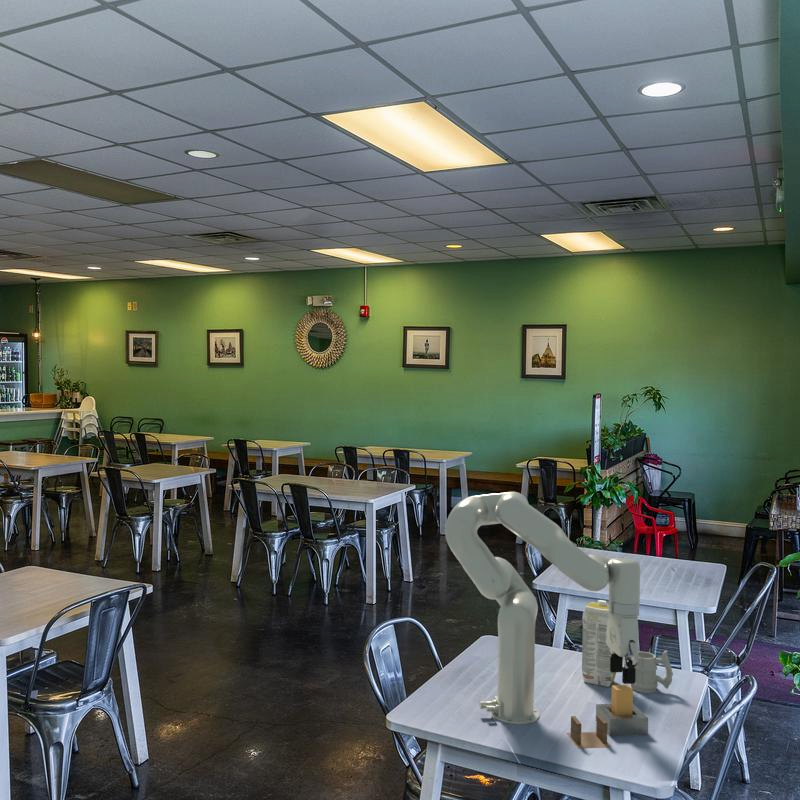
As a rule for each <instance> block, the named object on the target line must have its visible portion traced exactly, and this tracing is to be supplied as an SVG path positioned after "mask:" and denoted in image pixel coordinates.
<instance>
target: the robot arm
mask: <svg viewBox="0 0 800 800" xmlns="http://www.w3.org/2000/svg"><path fill="white" fill-rule="evenodd" d="M497 524H502V525H503V526H504V527H505V528H506V529H508V530H509V531H511V533H513V534H515V535H516V536H517V537H519V538H520V539H521V540H523V541H524V542H525V543H527V544H528V545H530V546H531V547H532V548H534V549H535V550H536V551H538V552H539V553H540V554H541V555H542V557H544V558H545V559H546V560H548V562H550V563H551V564H552V565H553V566H554V567H555V568H556V569H558V571H560V572H561V573H562V574H563V575H565V576H566V577H568V578H569V579H571V580H572V581H573V582H575V583H576V584H577V585H579V586H580V587H582V588H583V589H586V590H588V591H589V592H599V591H602V590H603V589H605V588H606V587H607V585H608V605H609V614H608V620H607V632H606V645H607V646H608V647H609V648H610V671H611V672H616V673H621V674H622V676H621V677H622V678H621V679H622V681H621V682H622V684H623V685H631V684H634V683H635V674H636V665H637V662H638V660H639V656H638V652H639V648H640V647H639V646H640V645H639V644H640V643H639V641H640V639H639V638H640V637H639V636H640V635H639V633H640V632H639V620H638V618H639V616H640V601H641V599H640V596H641V595H640V594H641V593H640V591H641V586H640V585H641V566H640V562H638V561H637V560H635V559H633V558H629V557H628V558H627V557H617V558H615V557H610V556H605V555H600V554H587V553H586V552H584V551H583V550H581V549H580V548H579V547H578V546H577V545H575V544H574V542H572V541H571V540H570V538H569V537H568V536H567V535H566V534H565V532H564V530H563V529H562V528H561V527H560V525H558V524H557V523H556V522H554V521H553V520H552V519H550V518H549V517H547V516H546V515H544V514H543V513H542V512H540V511H539V510H538V509H536V508H534V507H533V506H532V505H530V504H529V501H528V499H527V498H526V497H525V495H523V493H520V492H517V491H507V492H500V493H488V494H480V495H471V496H467V497H465V498H463V499H462V500H460V501H459V502H457V504H456V505H454V507H453V508H452V510H451V511H450V513H449V514H448V517H447V520H446V523H445V526H444V527H445V528H444V529H445V530H444V532H445V533H444V534H445V540H446V543H447V545H448V547H449V549H450V550H451V552H452V553H453V555H454V556H455V558H456V560H458V562H459V563H460V565H461V567H462V568H463V570H464V571H465V573H466V574H467V576H468V577H469V579H471V581H472V582H473V584H474V585H475V587H476V588H477V590H478V591H479V592H480V594H481V596H484V597H485V598H486V599H488V600H495V601H496V602H497V603H498V605H499V607H500V608H499V610H498V615H497V634H498V636H497V637H498V638H497V639H498V641H497V643H498V647H497V651H498V652H497V695H494V698H493V699H490V700H488V701H487V700H480V701H478V702H479V709H481V710H482V709H483V710H484V709H485V710H486V713H487V712H488V713H489V712H490V714H491V717H492V718H493V719H494V720H495V721H497V720H498V721H499V722H503V723H506V724H510V725H521V726H522V725H529V724H533V723H535V722H537V721H538V720H539V719H540V712H539V711H538V710H537V709H536V708H535V707H534V705H535V702H534V700H535V699H534V698H535V662H536V661H535V659H536V657H535V653H536V652H535V648H536V647H535V646H536V641H535V640H536V638H535V637H536V631H535V630H536V621H537V615H538V611H539V608H538V607H539V606H538V601H537V598H536V596H535V595H534V593H533V592H532V590H531V589H530V588H529V587H528V585H527V584H526V582H525V580H523V578H522V576H520V574H519V572H518V571H517V570H516V569H515V568H514V566H513V565H512V563H510V562H509V561H508V560H507V559H505V558H502V557H500V556H494V554H493V553H492V552H491V550H490V549H489V547H488V546H487V545H486V543H485V542H484V541H483V540H482V539H481V538H480V536H479V535H478V530H479V528H480V527H481V526H489V525H497ZM628 658H629V659H628Z"/></svg>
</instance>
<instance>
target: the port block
mask: <svg viewBox="0 0 800 800" xmlns="http://www.w3.org/2000/svg"><path fill="white" fill-rule="evenodd" d="M595 704H596V703H595ZM597 715H601V716H602V717H603V719H604V720H605V721H606V722H607V723H608V724H607V736H608V737H625V736H627V737H629V736H630V737H631V736H632V737H633V736H649V717H648V716H647V715H646V714H645V713H644V712H642V710H640V708H639V707H638V706H636V705H635V704H634V703H633V715H613V714H612V713H611V703H599V704H598V703H597V704H596V705H595V721H597Z"/></svg>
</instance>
